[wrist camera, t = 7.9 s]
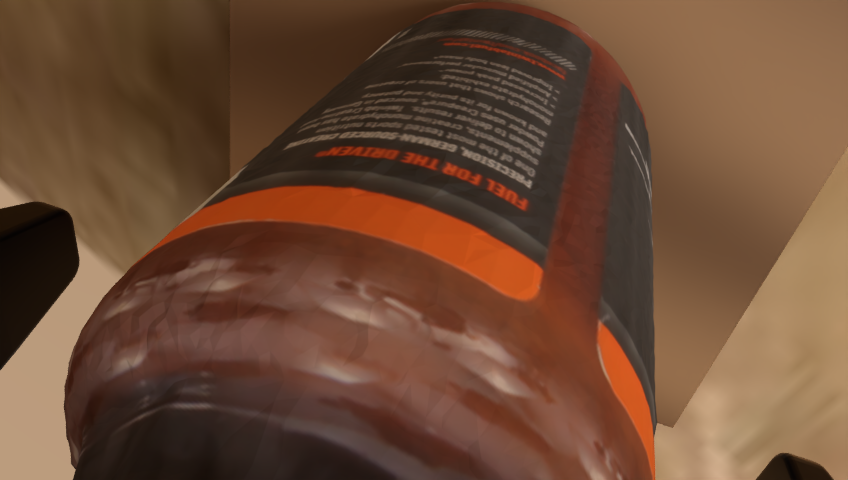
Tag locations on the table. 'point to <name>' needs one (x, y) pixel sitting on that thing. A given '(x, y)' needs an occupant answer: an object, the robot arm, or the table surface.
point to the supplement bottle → (401, 282)
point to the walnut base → (665, 121)
